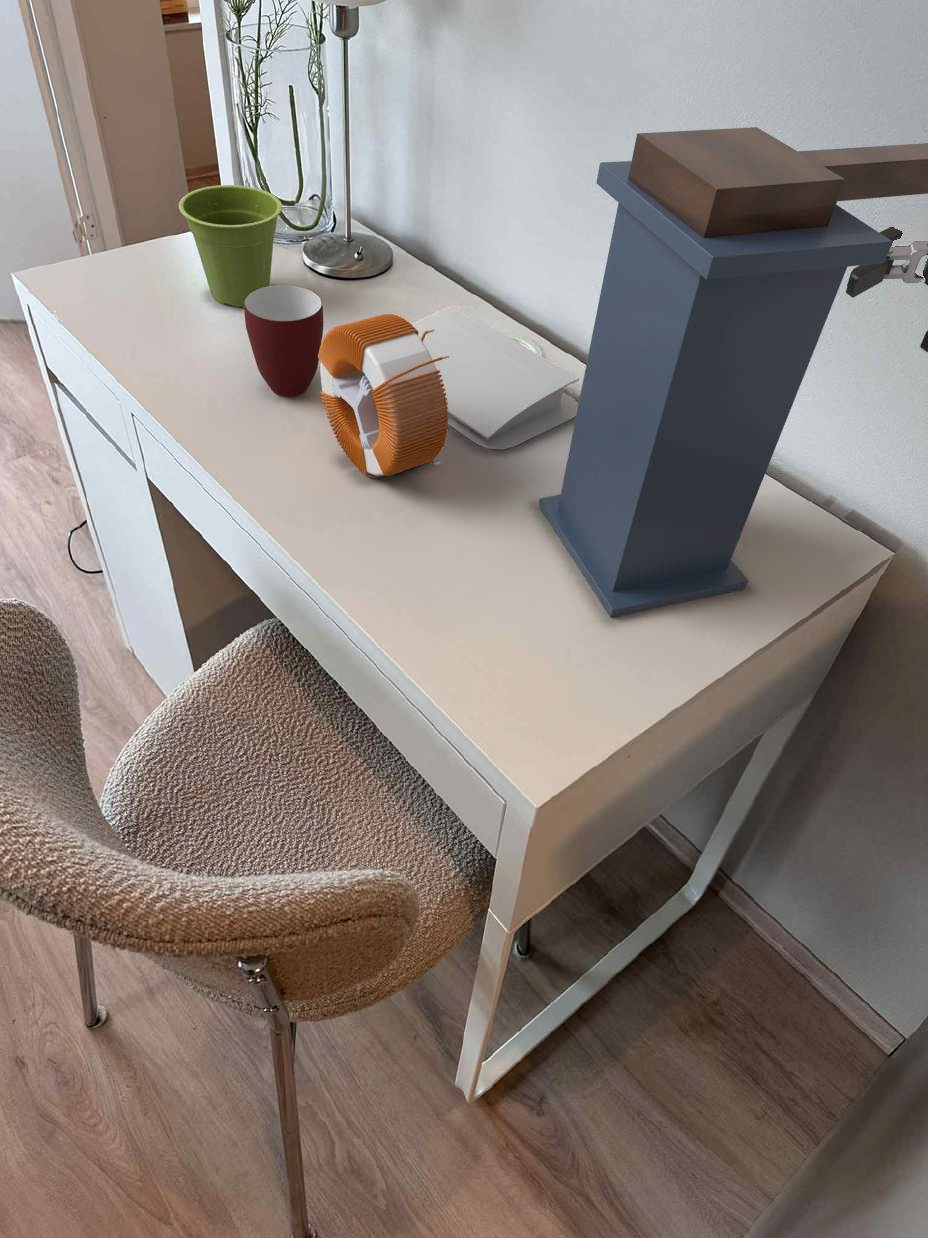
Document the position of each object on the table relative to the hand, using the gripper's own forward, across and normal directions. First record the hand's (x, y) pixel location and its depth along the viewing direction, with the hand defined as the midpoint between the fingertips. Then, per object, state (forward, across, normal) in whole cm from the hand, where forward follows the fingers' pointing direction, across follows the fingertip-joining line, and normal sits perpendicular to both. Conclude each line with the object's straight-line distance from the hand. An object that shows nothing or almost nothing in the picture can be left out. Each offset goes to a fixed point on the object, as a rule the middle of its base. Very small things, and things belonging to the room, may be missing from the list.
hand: (887, 313), depth 75 cm
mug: (+43, -42, +15) cm, 61 cm away
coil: (+39, -24, +14) cm, 48 cm away
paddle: (+9, -4, -13) cm, 16 cm away
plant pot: (+40, -63, +18) cm, 76 cm away
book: (+24, -32, +19) cm, 44 cm away
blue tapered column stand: (+24, -2, +16) cm, 28 cm away
